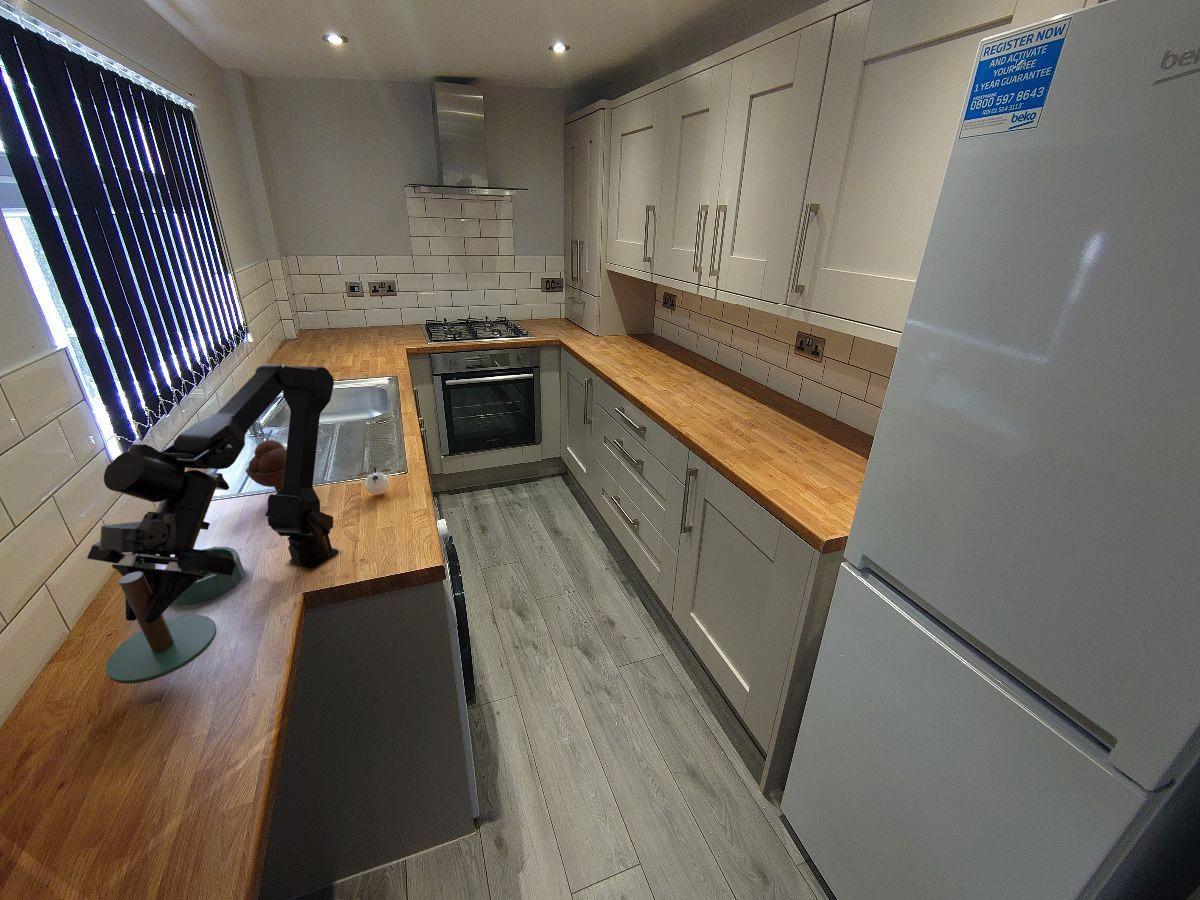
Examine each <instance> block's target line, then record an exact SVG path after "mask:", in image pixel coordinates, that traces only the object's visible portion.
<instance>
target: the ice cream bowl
mask: <svg viewBox="0 0 1200 900" xmlns="http://www.w3.org/2000/svg"><path fill="white" fill-rule="evenodd" d="M286 450H287V448H285V447H284V446H283V443H281V442H279V441H277V440H273V439H272V440H269V439H268V440H264V441H262V442H260V443H258V445H257V446H256V447H255V450H254V456H253V457H252V458H251V460H249V462H248V466H247V468H246V469H245V473H246V474H247V476H248V477H249V478H250V479H251V480H252V481H253V482H255V483H256V484H258V485H260V486H262V487H268V488H274V489H275V492H276V493H277V492H278V491H279V490H280V488H281V487H282V485H283V478H284V469H285V459H286Z"/></svg>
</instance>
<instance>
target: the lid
mask: <svg viewBox="0 0 1200 900" xmlns="http://www.w3.org/2000/svg"><path fill="white" fill-rule="evenodd" d="M118 584H119V586H120V588H121V590H122V592H123V594H124V596H125V599H126V598H127V600H128V602H129V604H130V606H131V608H132V611H133V613H134V615H135V617H136V621H137V623H138V625H139V627H140V629H141V630H140V631H138V632H137V633H136V634H134V635H132V636H130V637H129V638H128V639H126V640H124V642H122V643H121V644H120V645H119V646H118V647H117V648H116V649H115V650H113V652H112V653H111V655H110V656H109V657H108V659H107V661H106V665H105V672H106V675H107V677H108V678H109V679H110V680H112V681H113V682H116V683H118V684H124V685H125V684H127V685H130V684H131V685H132V684H139V683H144V682H151V681H154V680H155V679H159V678H162V677H164V676H167V675H169V674H171V673H174V672H176V671H177V670H180V669H182V668H184V667H185V666H187V665H188V664H190V663H191V662H193V661H194V660H195V659H197V658H198V657H200V656H201V655H202V654H203V653H204V652H205V651H206V650H207V649H208V648H209V647H210V646H211V644H212V643H213V641H214V640H215V638H216V636H217V632H218V630H217V625H216V623H215V621H214V620H213V619H212V618H210V617H208V616H206V615H201V614H187V615H180V616H176V617H172V618H169V619H165V618H164V615H163V613H162V614H161V615H160V616H159V617H158V618H157V619H156V620H155V621H154V622H153V623H145V622H144V618H145V614H146V610H147V607H148V604H149V601H150V598H151V595H152V591H151V589H150V586H149V584H148V582H147V580H146V578H145V576H144V573H143V572H140V571H138V572H132V573H129V574H127V575H125V576H121V577H120V578H119V580H118Z"/></svg>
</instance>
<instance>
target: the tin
mask: <svg viewBox="0 0 1200 900" xmlns="http://www.w3.org/2000/svg"><path fill="white" fill-rule="evenodd" d="M202 550H207V551H212V552H217V553H222V554H226V555H231V556H233V557H234V560H235V563H236V565H235V568H234V570H233V573H232V576H227V575H217V574H213V573H212V574H211V575H208V574H210V573H211V572H205V571H201V574H200V575H202V576H204V578H203V579H198V580H197V581H196V582H195V583H194V584H193V585H191V586H190V587H189V588H188V589H187V590H186V591H185V592H183V593H182V594H181V595H180V596H179V597H178V598H177V599H176V600H175V601H174V602H173V603H172V604H174V605H176V606H194V605H199V604H203V603H208V602H210V601H213V600H215V599H217V598H220V597H222V596H225V594H227V593H229V592H230V591H232V590H234V589H235V588H236V587H237V586H238V585H239V584H240V583H242V581H243V580H244V578H245V574H246V572H245V569H244V566H243V564H242V561H241V559H240V555H239V553H238V552H237V550H236V549H235V548H233V547H229V546H213V547H209V548H203V549H202ZM163 570H165V568H164V569H163ZM206 575H208V576H206Z"/></svg>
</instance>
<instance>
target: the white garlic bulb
mask: <svg viewBox="0 0 1200 900" xmlns="http://www.w3.org/2000/svg"><path fill="white" fill-rule="evenodd" d="M372 469H373V473H372V472H367V471H363V472H360V473H358V474H357V477H361V476H365V475H368V476H367V477H366V478H365V482H364V483H365V484H364V487H365V489H366V491H367V492H368V493H369V494H371V495H374V496H379V495H383V494H385V493H386V492H387V491H388V489H389V488H390V479H389V477H388V476H387V475H386V474H385V473H388V472H392V471H391V469H390V468H384V469H382V470H380V471H377V467H372Z"/></svg>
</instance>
